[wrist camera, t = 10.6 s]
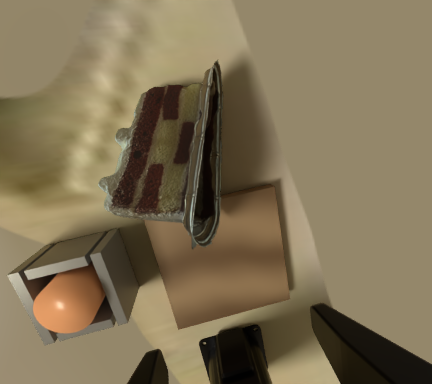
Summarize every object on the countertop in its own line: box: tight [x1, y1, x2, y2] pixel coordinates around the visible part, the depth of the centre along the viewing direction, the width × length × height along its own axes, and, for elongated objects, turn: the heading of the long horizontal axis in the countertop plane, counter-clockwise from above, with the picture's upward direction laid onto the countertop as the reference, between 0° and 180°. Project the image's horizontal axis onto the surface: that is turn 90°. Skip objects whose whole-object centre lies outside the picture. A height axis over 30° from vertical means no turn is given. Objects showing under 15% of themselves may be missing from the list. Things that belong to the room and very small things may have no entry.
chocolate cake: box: [99, 60, 223, 249], centre depth 15 cm, size 10×7×12 cm
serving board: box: [144, 184, 290, 330], centre depth 20 cm, size 12×11×1 cm
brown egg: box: [33, 261, 106, 333], centre depth 17 cm, size 4×4×4 cm
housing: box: [7, 229, 139, 345], centre depth 17 cm, size 6×6×4 cm
